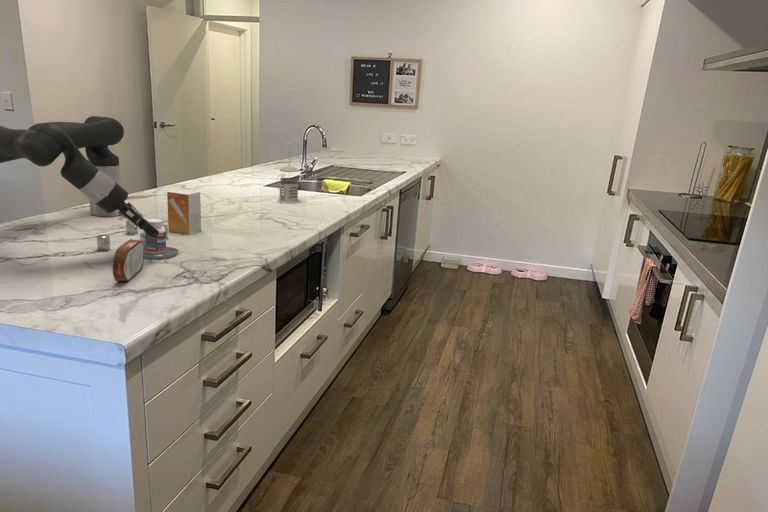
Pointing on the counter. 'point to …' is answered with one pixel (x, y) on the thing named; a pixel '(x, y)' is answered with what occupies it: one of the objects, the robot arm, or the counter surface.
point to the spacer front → (166, 230)
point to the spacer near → (103, 242)
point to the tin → (128, 260)
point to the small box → (184, 211)
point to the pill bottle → (156, 238)
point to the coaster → (161, 254)
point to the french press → (288, 185)
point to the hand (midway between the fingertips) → (152, 231)
